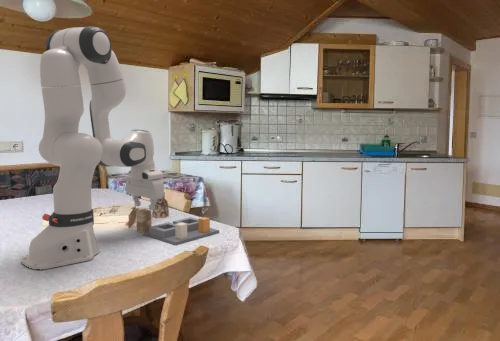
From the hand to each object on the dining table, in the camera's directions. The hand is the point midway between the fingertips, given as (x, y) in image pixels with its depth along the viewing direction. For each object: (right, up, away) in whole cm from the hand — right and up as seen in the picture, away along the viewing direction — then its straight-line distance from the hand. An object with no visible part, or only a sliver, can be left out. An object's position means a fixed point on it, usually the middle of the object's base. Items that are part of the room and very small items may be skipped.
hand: (144, 207), depth 164 cm
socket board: (+15, -10, -3) cm, 18 cm away
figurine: (+1, -6, +25) cm, 25 cm away
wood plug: (0, -9, +1) cm, 9 cm away
